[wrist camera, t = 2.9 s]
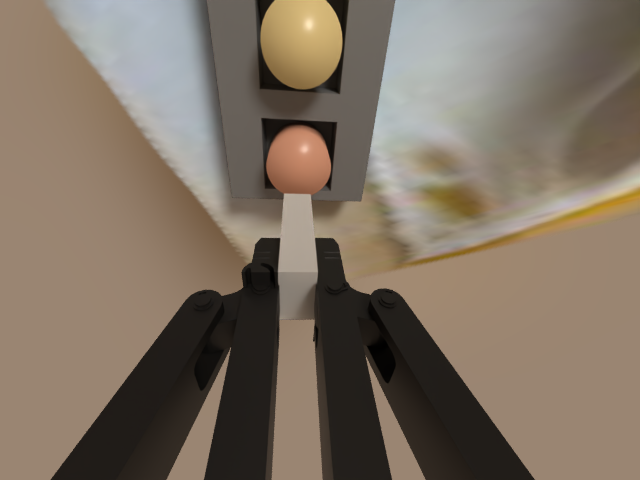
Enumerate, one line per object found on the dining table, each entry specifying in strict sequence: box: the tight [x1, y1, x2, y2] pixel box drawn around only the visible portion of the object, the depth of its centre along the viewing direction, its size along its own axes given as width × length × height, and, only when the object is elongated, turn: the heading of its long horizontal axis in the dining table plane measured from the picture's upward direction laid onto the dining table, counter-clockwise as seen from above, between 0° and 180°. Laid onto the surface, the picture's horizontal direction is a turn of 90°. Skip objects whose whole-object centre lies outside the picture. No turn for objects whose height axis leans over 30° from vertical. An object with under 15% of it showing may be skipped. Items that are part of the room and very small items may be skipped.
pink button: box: [266, 122, 331, 195], centre depth 24 cm, size 5×5×4 cm
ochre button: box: [261, 0, 342, 89], centre depth 19 cm, size 5×5×4 cm
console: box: [207, 0, 395, 201], centre depth 21 cm, size 24×12×4 cm, turn 176°
